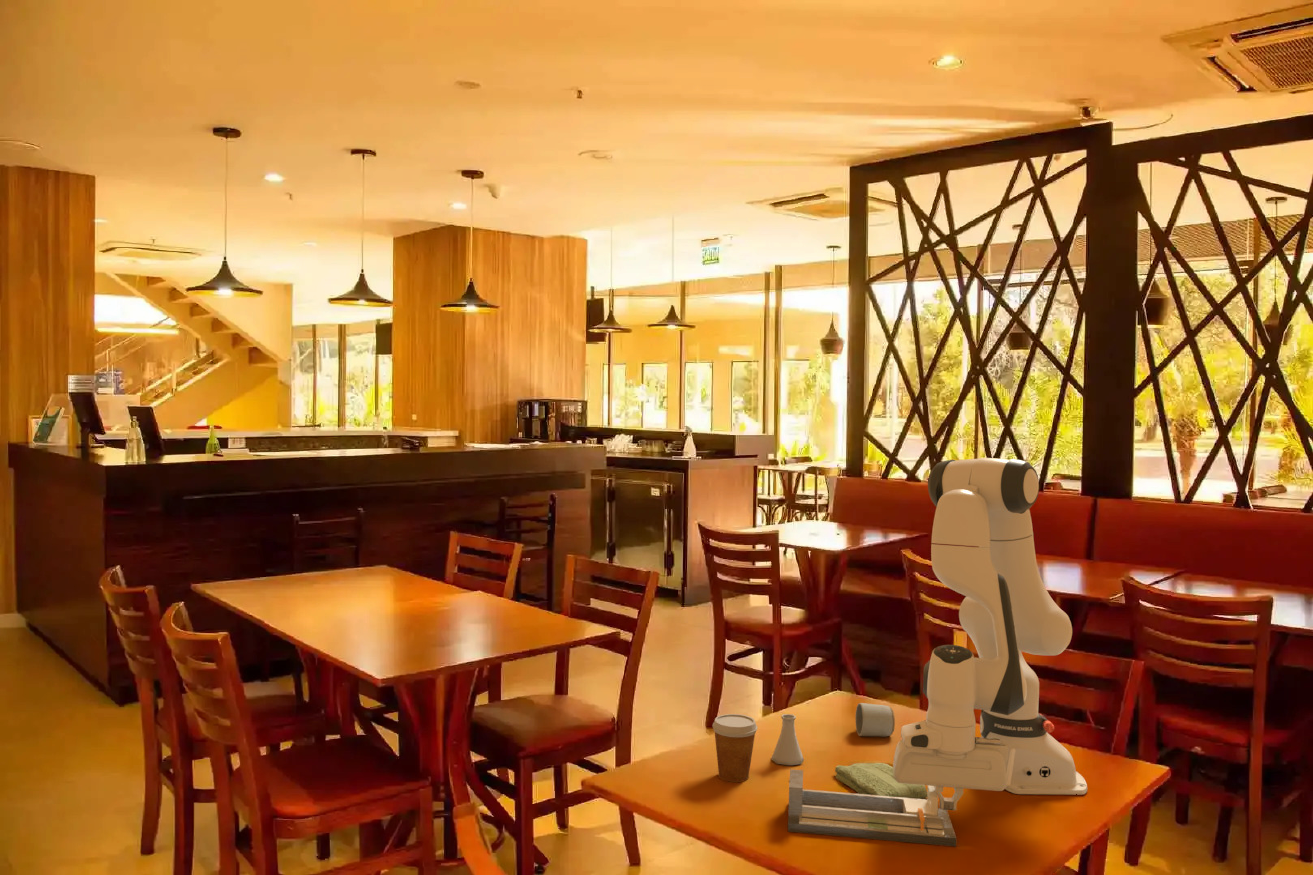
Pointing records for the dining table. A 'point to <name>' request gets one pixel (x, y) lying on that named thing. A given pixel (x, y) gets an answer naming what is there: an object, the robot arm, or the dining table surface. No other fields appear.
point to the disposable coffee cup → (734, 745)
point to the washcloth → (877, 781)
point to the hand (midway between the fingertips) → (947, 808)
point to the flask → (787, 744)
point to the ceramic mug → (874, 720)
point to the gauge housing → (862, 816)
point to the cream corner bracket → (922, 806)
